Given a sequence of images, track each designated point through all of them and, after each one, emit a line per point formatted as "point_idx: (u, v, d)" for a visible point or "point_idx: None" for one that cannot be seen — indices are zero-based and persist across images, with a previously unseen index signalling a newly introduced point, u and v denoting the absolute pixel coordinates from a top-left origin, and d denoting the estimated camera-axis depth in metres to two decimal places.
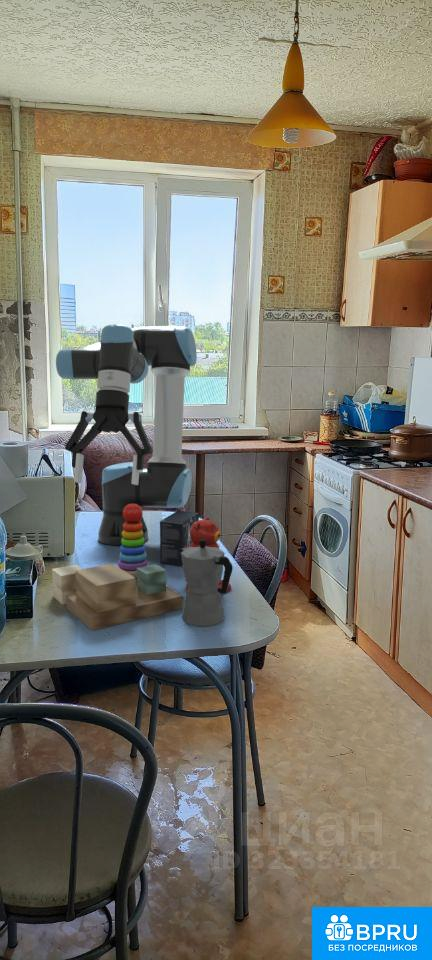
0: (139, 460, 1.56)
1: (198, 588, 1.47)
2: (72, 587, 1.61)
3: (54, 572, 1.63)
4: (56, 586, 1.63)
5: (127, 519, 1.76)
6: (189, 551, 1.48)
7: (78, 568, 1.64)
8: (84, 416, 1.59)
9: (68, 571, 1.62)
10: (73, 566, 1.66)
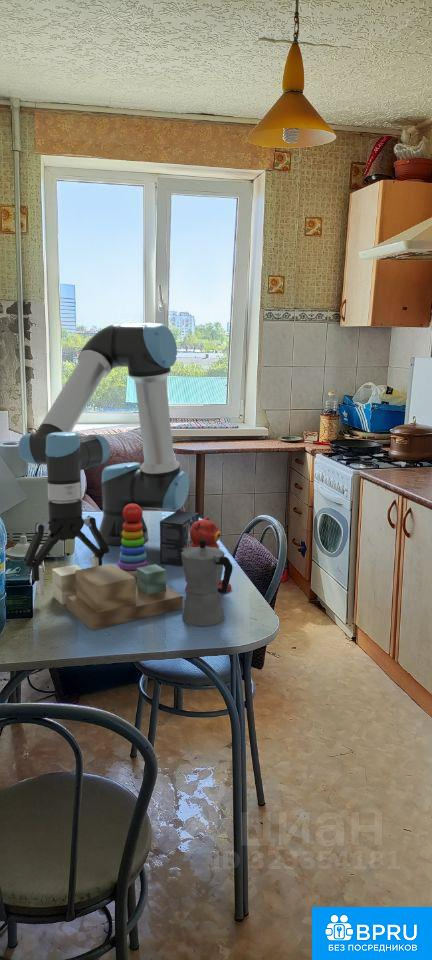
0: (99, 561, 1.66)
1: (198, 588, 1.47)
2: (72, 587, 1.61)
3: (54, 572, 1.63)
4: (56, 586, 1.63)
5: (127, 519, 1.76)
6: (189, 551, 1.48)
7: (78, 568, 1.64)
8: (42, 530, 1.57)
9: (68, 571, 1.62)
10: (73, 566, 1.66)
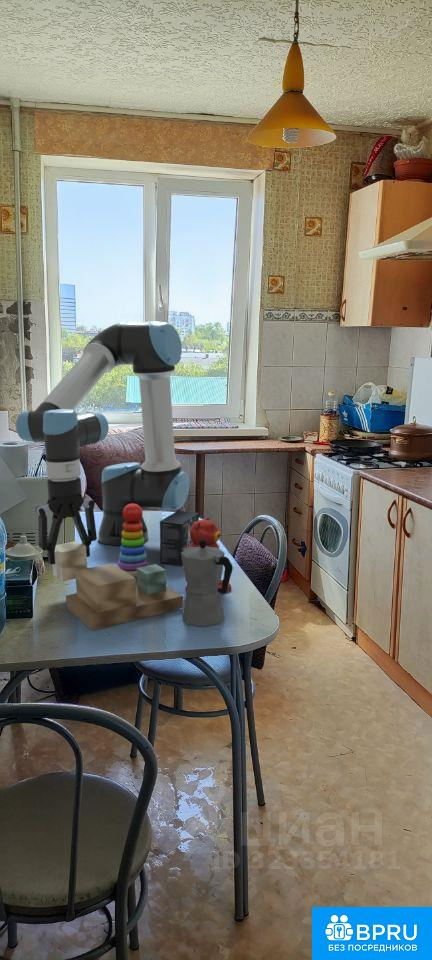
0: (87, 549, 1.64)
1: (198, 588, 1.47)
2: (72, 563, 1.60)
3: None
4: None
5: (127, 519, 1.76)
6: (189, 551, 1.48)
7: (78, 544, 1.63)
8: (44, 513, 1.56)
9: (68, 548, 1.61)
10: (73, 543, 1.65)
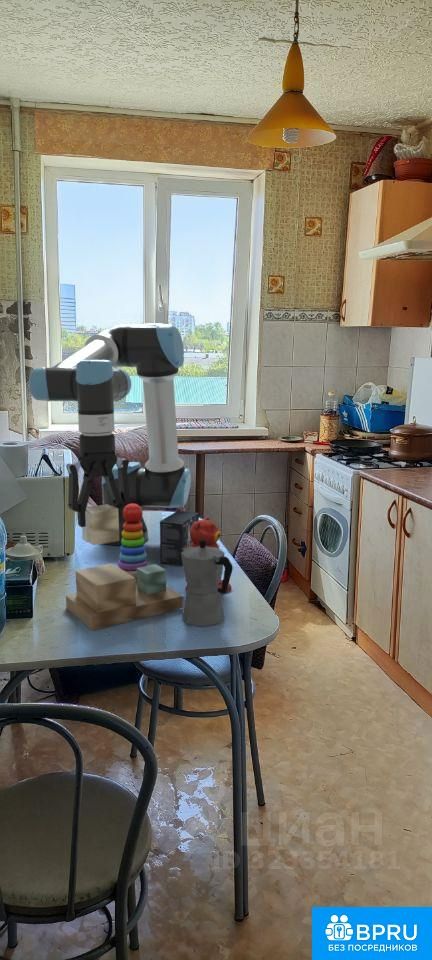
0: (119, 512, 1.53)
1: (198, 588, 1.47)
2: (104, 526, 1.49)
3: None
4: None
5: (127, 519, 1.76)
6: (189, 551, 1.48)
7: (110, 507, 1.52)
8: (75, 470, 1.45)
9: (99, 509, 1.50)
10: (104, 505, 1.54)
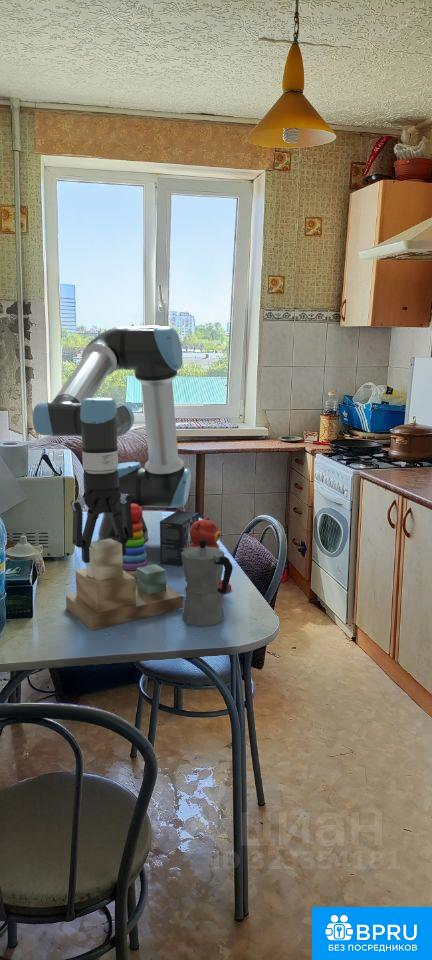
0: (123, 547, 1.54)
1: (198, 588, 1.47)
2: (108, 561, 1.50)
3: None
4: None
5: None
6: (189, 551, 1.48)
7: (113, 542, 1.53)
8: (79, 507, 1.47)
9: (103, 545, 1.51)
10: (108, 540, 1.55)
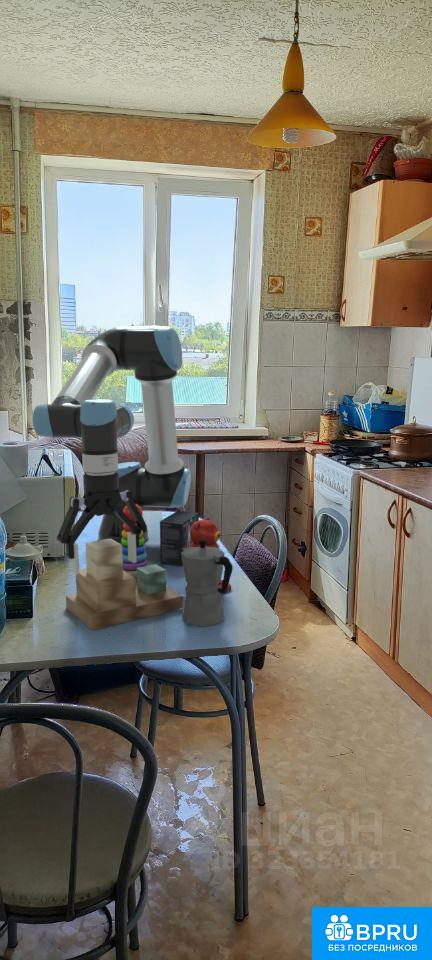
0: (136, 538, 1.56)
1: (198, 588, 1.47)
2: (108, 561, 1.50)
3: (88, 546, 1.52)
4: (90, 561, 1.52)
5: None
6: (189, 551, 1.48)
7: (113, 542, 1.53)
8: (77, 504, 1.46)
9: (103, 545, 1.51)
10: (108, 540, 1.55)
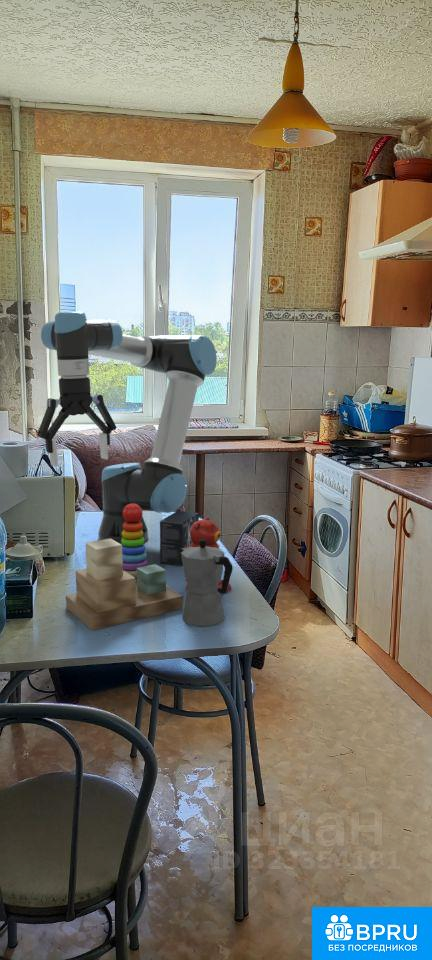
0: (107, 437, 1.77)
1: (198, 588, 1.47)
2: (108, 561, 1.50)
3: (88, 546, 1.52)
4: (90, 561, 1.52)
5: (127, 519, 1.76)
6: (189, 551, 1.48)
7: (113, 542, 1.53)
8: (54, 404, 1.67)
9: (103, 545, 1.51)
10: (108, 540, 1.55)
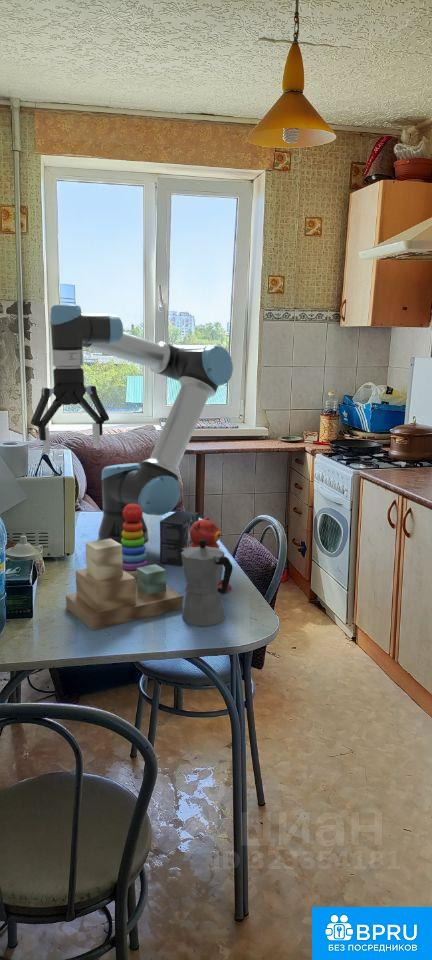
0: (100, 427, 1.82)
1: (198, 588, 1.47)
2: (108, 561, 1.50)
3: (88, 546, 1.52)
4: (90, 561, 1.52)
5: (127, 519, 1.76)
6: (189, 551, 1.48)
7: (113, 542, 1.53)
8: (48, 393, 1.73)
9: (103, 545, 1.51)
10: (108, 540, 1.55)
